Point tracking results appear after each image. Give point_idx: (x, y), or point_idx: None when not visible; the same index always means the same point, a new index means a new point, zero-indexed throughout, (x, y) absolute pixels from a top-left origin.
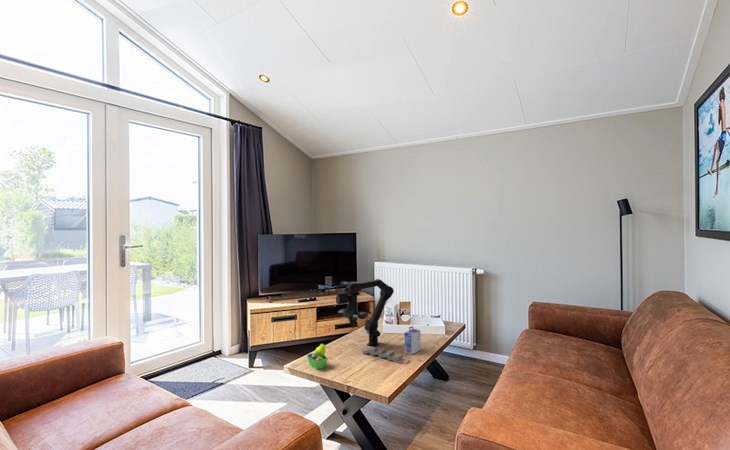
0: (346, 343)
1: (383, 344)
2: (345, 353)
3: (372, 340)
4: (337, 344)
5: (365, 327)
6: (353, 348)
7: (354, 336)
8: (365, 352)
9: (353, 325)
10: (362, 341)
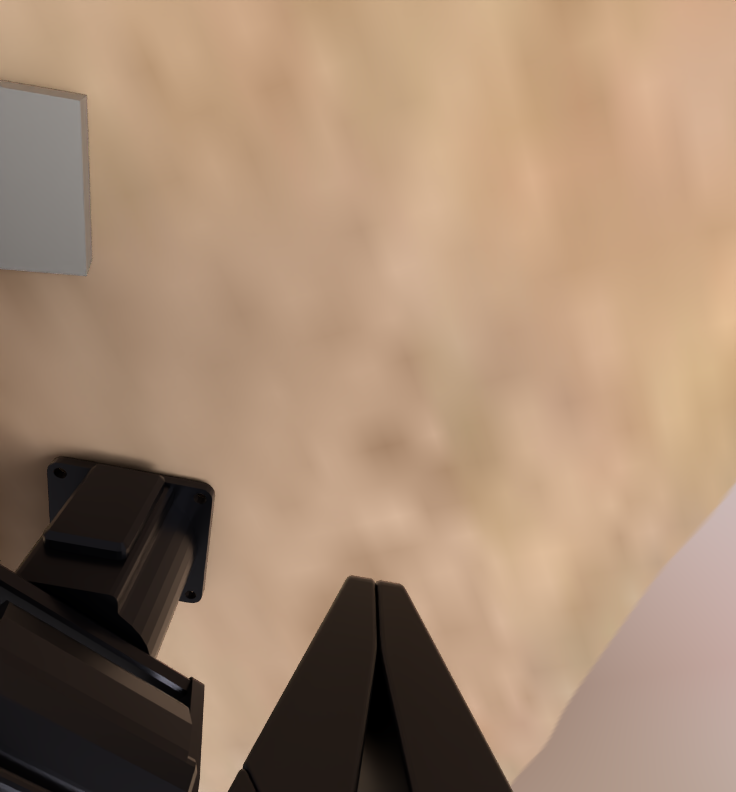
0: (551, 473)
1: (9, 560)
2: (443, 8)
3: (56, 519)
4: (699, 401)
5: (138, 773)
6: (371, 311)
7: (499, 696)
8: (6, 84)
9: (304, 656)
10: (334, 586)
